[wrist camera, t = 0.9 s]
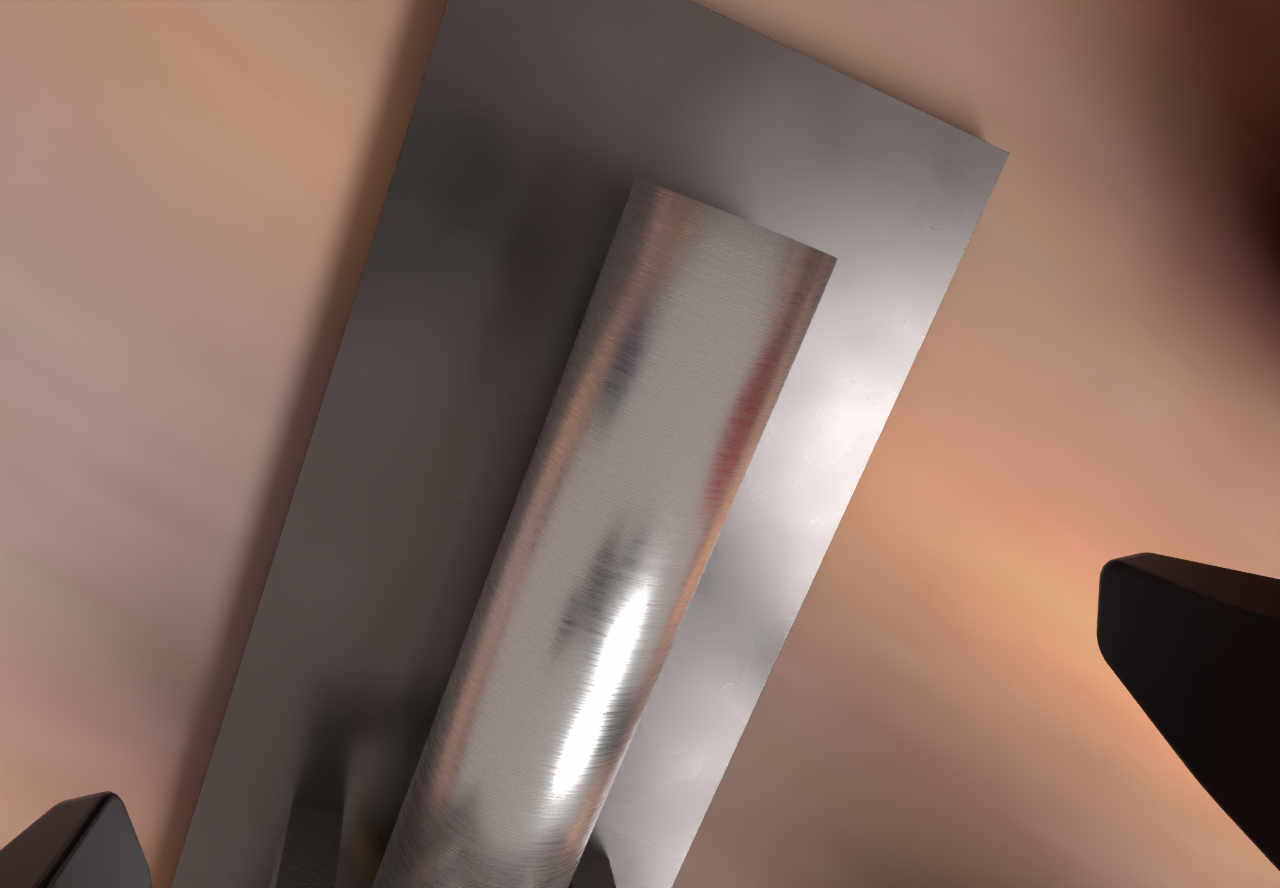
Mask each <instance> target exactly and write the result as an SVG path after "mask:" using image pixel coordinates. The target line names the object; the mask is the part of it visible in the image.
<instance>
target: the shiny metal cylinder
mask: <svg viewBox="0 0 1280 888" xmlns="http://www.w3.org/2000/svg"><path fill="white" fill-rule="evenodd" d="M837 260H838V259H837V258H836V257H833V256H831V255H829V254H827V253H825V252H822V251H820V250H818V249H816V248H813V247H811V246H808V245H806V244H804V243H801V242H799V241H797V240H794V239H792V238H789V237H787V236H784V235H782V234H780V233H777V232H775V231H772V230H770V229H767V228H765V227H762V226H760V225H758V224H755V223H753V222H750V221H748V220H745V219H743V218H740V217H738V216H735V215H733V214H730V213H728V212H725V211H722V210H720V209H717V208H715V207H712V206H710V205H707V204H705V203H702V202H699V201H697V200H694V199H692V198H689V197H687V196H684V195H681V194H679V193H676V192H673V191H671V190H668V189H666V188H663V187H660V186H657V185H655V184H652V183H649V182H646V181H643V180H640V179H637V178H636V179H635V182H634V184H633V187H632V190H631V192H630V195H629V198H628V200H627V203H626V206H625V208H624V211H623V214H622V216H621V219H620V222H619V225H618V227H617V230H616V233H615V235H614V238H613V241H612V243H611V246H610V249H609V251H608V254H607V257H606V259H605V262H604V265H603V268H602V270H601V273H600V276H599V278H598V281H597V284H596V286H595V289H594V292H593V294H592V297H591V300H590V302H589V305H588V308H587V311H586V313H585V316H584V319H583V321H582V324H581V327H580V329H579V332H578V335H577V337H576V340H575V343H574V345H573V348H572V351H571V354H570V356H569V359H568V362H567V364H566V367H565V370H564V372H563V375H562V378H561V380H560V383H559V386H558V388H557V391H556V394H555V397H554V399H553V402H552V405H551V407H550V410H549V413H548V415H547V418H546V421H545V423H544V426H543V429H542V431H541V434H540V437H539V440H538V442H537V445H536V448H535V450H534V453H533V456H532V458H531V461H530V464H529V466H528V469H527V472H526V474H525V477H524V480H523V483H522V485H521V488H520V491H519V493H518V496H517V499H516V501H515V504H514V507H513V509H512V512H511V515H510V517H509V520H508V523H507V526H506V528H505V531H504V534H503V536H502V539H501V542H500V544H499V547H498V550H497V552H496V555H495V558H494V560H493V563H492V566H491V569H490V571H489V574H488V577H487V579H486V582H485V585H484V587H483V590H482V593H481V595H480V598H479V601H478V603H477V606H476V609H475V612H474V614H473V617H472V620H471V622H470V625H469V628H468V630H467V633H466V636H465V638H464V641H463V644H462V646H461V649H460V652H459V655H458V657H457V660H456V663H455V665H454V668H453V671H452V673H451V676H450V679H449V681H448V684H447V687H446V689H445V692H444V695H443V698H442V700H441V703H440V706H439V708H438V711H437V714H436V716H435V719H434V722H433V724H432V727H431V730H430V733H429V735H428V738H427V741H426V743H425V746H424V749H423V751H422V754H421V757H420V759H419V762H418V765H417V767H416V770H415V773H414V776H413V778H412V781H411V784H410V786H409V789H408V792H407V794H406V797H405V800H404V802H403V805H402V808H401V810H400V813H399V816H398V819H397V821H396V824H395V827H394V829H393V832H392V835H391V837H390V840H389V843H388V845H387V848H386V851H385V853H384V856H383V859H382V862H381V864H380V867H379V870H378V872H377V875H376V878H375V880H374V883H373V886H372V888H568V886H569V884H570V881H571V879H572V877H573V875H574V872H575V870H576V868H577V865H578V863H579V861H580V858H581V856H582V854H583V851H584V849H585V847H586V844H587V842H588V840H589V837H590V835H591V833H592V830H593V828H594V826H595V823H596V821H597V819H598V816H599V814H600V812H601V809H602V807H603V805H604V802H605V800H606V798H607V795H608V793H609V791H610V788H611V786H612V784H613V781H614V779H615V777H616V775H617V772H618V770H619V768H620V765H621V763H622V761H623V758H624V756H625V754H626V751H627V749H628V747H629V744H630V742H631V740H632V737H633V735H634V733H635V730H636V728H637V726H638V723H639V721H640V719H641V716H642V714H643V712H644V709H645V707H646V705H647V702H648V700H649V698H650V695H651V693H652V691H653V688H654V686H655V684H656V681H657V679H658V677H659V674H660V672H661V670H662V668H663V665H664V663H665V661H666V658H667V656H668V654H669V651H670V649H671V647H672V644H673V642H674V640H675V637H676V635H677V633H678V630H679V628H680V626H681V623H682V621H683V619H684V616H685V614H686V612H687V609H688V607H689V605H690V602H691V600H692V598H693V595H694V593H695V591H696V588H697V586H698V584H699V581H700V579H701V577H702V574H703V572H704V570H705V567H706V565H707V563H708V561H709V558H710V556H711V554H712V551H713V549H714V547H715V544H716V542H717V540H718V537H719V535H720V533H721V530H722V528H723V526H724V523H725V521H726V519H727V516H728V514H729V512H730V509H731V507H732V505H733V502H734V500H735V498H736V495H737V493H738V491H739V488H740V486H741V484H742V481H743V479H744V477H745V474H746V472H747V470H748V467H749V465H750V463H751V460H752V458H753V456H754V454H755V451H756V449H757V447H758V444H759V442H760V440H761V437H762V435H763V433H764V430H765V428H766V426H767V423H768V421H769V419H770V416H771V414H772V412H773V409H774V407H775V405H776V402H777V400H778V398H779V395H780V393H781V391H782V388H783V386H784V384H785V381H786V379H787V377H788V374H789V372H790V370H791V367H792V365H793V363H794V360H795V358H796V356H797V353H798V351H799V349H800V347H801V344H802V342H803V340H804V337H805V335H806V333H807V330H808V328H809V326H810V323H811V321H812V319H813V316H814V314H815V312H816V309H817V307H818V305H819V302H820V300H821V298H822V295H823V293H824V291H825V288H826V286H827V284H828V281H829V279H830V277H831V274H832V272H833V270H834V267H835V265H836V263H837Z"/></svg>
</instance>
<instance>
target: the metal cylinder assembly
mask: <svg viewBox="0 0 1280 888" xmlns="http://www.w3.org/2000/svg"><path fill="white" fill-rule="evenodd" d="M1008 155H1009V153H1008V152H1006V151H1004V150H1002V149H1000V148H998V147H996V146H994V145H992V144H990V143H987V142H985V141H983V140H981V139H979V138H977V137H975V136H973V135H971V134H969V133H966V132H964V131H962V130H960V129H958V128H956V127H954V126H952V125H950V124H948V123H945V122H943V121H941V120H939V119H937V118H935V117H933V116H931V115H929V114H927V113H925V112H922V111H920V110H918V109H916V108H914V107H912V106H910V105H908V104H906V103H904V102H901V101H899V100H897V99H895V98H893V97H891V96H889V95H887V94H885V93H883V92H880V91H878V90H876V89H874V88H872V87H870V86H868V85H866V84H864V83H862V82H860V81H857V80H855V79H853V78H851V77H849V76H847V75H845V74H843V73H841V72H839V71H836V70H834V69H832V68H830V67H828V66H826V65H824V64H822V63H820V62H818V61H815V60H813V59H811V58H809V57H807V56H805V55H803V54H801V53H799V52H797V51H795V50H792V49H790V48H788V47H786V46H784V45H782V44H780V43H778V42H776V41H774V40H771V39H769V38H767V37H765V36H763V35H761V34H759V33H757V32H755V31H753V30H750V29H748V28H746V27H744V26H742V25H740V24H738V23H736V22H734V21H732V20H730V19H727V18H725V17H723V16H721V15H719V14H717V13H715V12H713V11H711V10H709V9H706V8H704V7H702V6H700V5H698V4H696V3H694V2H692V1H690V0H448V2H447V5H446V8H445V12H444V15H443V18H442V21H441V24H440V28H439V31H438V34H437V37H436V40H435V44H434V47H433V50H432V53H431V56H430V60H429V63H428V66H427V69H426V72H425V76H424V79H423V82H422V85H421V88H420V92H419V95H418V98H417V101H416V104H415V108H414V111H413V114H412V117H411V120H410V124H409V127H408V130H407V133H406V136H405V140H404V143H403V146H402V149H401V152H400V156H399V159H398V162H397V165H396V168H395V172H394V175H393V178H392V181H391V184H390V187H389V191H388V194H387V197H386V200H385V203H384V207H383V210H382V213H381V216H380V219H379V223H378V226H377V229H376V232H375V235H374V239H373V242H372V245H371V248H370V251H369V255H368V258H367V261H366V264H365V267H364V271H363V274H362V277H361V280H360V283H359V287H358V290H357V293H356V296H355V299H354V303H353V306H352V309H351V312H350V315H349V319H348V322H347V325H346V328H345V331H344V335H343V338H342V341H341V344H340V347H339V351H338V354H337V357H336V360H335V363H334V367H333V370H332V373H331V376H330V379H329V383H328V386H327V389H326V392H325V395H324V399H323V402H322V405H321V408H320V411H319V415H318V418H317V421H316V424H315V427H314V431H313V434H312V437H311V440H310V443H309V447H308V450H307V453H306V456H305V459H304V463H303V466H302V469H301V472H300V475H299V479H298V482H297V485H296V488H295V491H294V495H293V498H292V501H291V504H290V507H289V510H288V514H287V517H286V520H285V523H284V526H283V530H282V533H281V536H280V539H279V542H278V546H277V549H276V552H275V555H274V558H273V562H272V565H271V568H270V571H269V574H268V578H267V581H266V584H265V587H264V590H263V594H262V597H261V600H260V603H259V606H258V610H257V613H256V616H255V619H254V622H253V626H252V629H251V632H250V635H249V638H248V642H247V645H246V648H245V651H244V654H243V658H242V661H241V664H240V667H239V670H238V674H237V677H236V680H235V683H234V686H233V690H232V693H231V696H230V699H229V702H228V706H227V709H226V712H225V715H224V718H223V722H222V725H221V728H220V731H219V734H218V738H217V741H216V744H215V747H214V750H213V754H212V757H211V760H210V763H209V766H208V770H207V773H206V776H205V779H204V782H203V786H202V789H201V792H200V795H199V798H198V802H197V805H196V808H195V811H194V814H193V817H192V821H191V824H190V827H189V830H188V833H187V837H186V840H185V843H184V846H183V849H182V853H181V856H180V859H179V862H178V865H177V869H176V872H175V875H174V878H173V881H172V885H171V888H372V886H373V883H374V880H375V878H376V875H377V872H378V870H379V867H380V864H381V862H382V859H383V856H384V853H385V851H386V848H387V845H388V843H389V840H390V837H391V835H392V832H393V829H394V827H395V824H396V821H397V819H398V816H399V813H400V810H401V808H402V805H403V802H404V800H405V797H406V794H407V792H408V789H409V786H410V784H411V781H412V778H413V776H414V773H415V770H416V767H417V765H418V762H419V759H420V757H421V754H422V751H423V749H424V746H425V743H426V741H427V738H428V735H429V733H430V730H431V727H432V724H433V722H434V719H435V716H436V714H437V711H438V708H439V706H440V703H441V700H442V698H443V695H444V692H445V689H446V687H447V684H448V681H449V679H450V676H451V673H452V671H453V668H454V665H455V663H456V660H457V657H458V655H459V652H460V649H461V646H462V644H463V641H464V638H465V636H466V633H467V630H468V628H469V625H470V622H471V620H472V617H473V614H474V612H475V609H476V606H477V603H478V601H479V598H480V595H481V593H482V590H483V587H484V585H485V582H486V579H487V577H488V574H489V571H490V569H491V566H492V563H493V560H494V558H495V555H496V552H497V550H498V547H499V544H500V542H501V539H502V536H503V534H504V531H505V528H506V526H507V523H508V520H509V517H510V515H511V512H512V509H513V507H514V504H515V501H516V499H517V496H518V493H519V491H520V488H521V485H522V483H523V480H524V477H525V474H526V472H527V469H528V466H529V464H530V461H531V458H532V456H533V453H534V450H535V448H536V445H537V442H538V440H539V437H540V434H541V431H542V429H543V426H544V423H545V421H546V418H547V415H548V413H549V410H550V407H551V405H552V402H553V399H554V397H555V394H556V391H557V388H558V386H559V383H560V380H561V378H562V375H563V372H564V370H565V367H566V364H567V362H568V359H569V356H570V354H571V351H572V348H573V345H574V343H575V340H576V337H577V335H578V332H579V329H580V327H581V324H582V321H583V319H584V316H585V313H586V311H587V308H588V305H589V302H590V300H591V297H592V294H593V292H594V289H595V286H596V284H597V281H598V278H599V276H600V273H601V270H602V268H603V265H604V262H605V259H606V257H607V254H608V251H609V249H610V246H611V243H612V241H613V238H614V235H615V233H616V230H617V227H618V225H619V222H620V219H621V216H622V214H623V211H624V208H625V206H626V203H627V200H628V198H629V195H630V192H631V190H632V187H633V184H634V182H635V179H636V178H637V179H640V180H643V181H646V182H649V183H652V184H655V185H657V186H660V187H663V188H666V189H668V190H671V191H673V192H676V193H679V194H681V195H684V196H687V197H689V198H692V199H694V200H697V201H699V202H702V203H705V204H707V205H710V206H712V207H715V208H717V209H720V210H722V211H725V212H728V213H730V214H733V215H735V216H738V217H740V218H743V219H745V220H748V221H750V222H753V223H755V224H758V225H760V226H762V227H765V228H767V229H770V230H772V231H775V232H777V233H780V234H782V235H784V236H787V237H789V238H792V239H794V240H797V241H799V242H801V243H804V244H806V245H808V246H811V247H813V248H816V249H818V250H820V251H822V252H825V253H827V254H829V255H831V256H833V257H836V258H837V259H838V260H837V263H836V265H835V267H834V270H833V272H832V274H831V277H830V279H829V281H828V284H827V286H826V288H825V291H824V293H823V295H822V298H821V300H820V302H819V305H818V307H817V309H816V312H815V314H814V316H813V319H812V321H811V323H810V326H809V328H808V330H807V333H806V335H805V337H804V340H803V342H802V344H801V347H800V349H799V351H798V353H797V356H796V358H795V360H794V363H793V365H792V367H791V370H790V372H789V374H788V377H787V379H786V381H785V384H784V386H783V388H782V391H781V393H780V395H779V398H778V400H777V402H776V405H775V407H774V409H773V412H772V414H771V416H770V419H769V421H768V423H767V426H766V428H765V430H764V433H763V435H762V437H761V440H760V442H759V444H758V447H757V449H756V451H755V454H754V456H753V458H752V460H751V463H750V465H749V467H748V470H747V472H746V474H745V477H744V479H743V481H742V484H741V486H740V488H739V491H738V493H737V495H736V498H735V500H734V502H733V505H732V507H731V509H730V512H729V514H728V516H727V519H726V521H725V523H724V526H723V528H722V530H721V533H720V535H719V537H718V540H717V542H716V544H715V547H714V549H713V551H712V554H711V556H710V558H709V561H708V563H707V565H706V567H705V570H704V572H703V574H702V577H701V579H700V581H699V584H698V586H697V588H696V591H695V593H694V595H693V598H692V600H691V602H690V605H689V607H688V609H687V612H686V614H685V616H684V619H683V621H682V623H681V626H680V628H679V630H678V633H677V635H676V637H675V640H674V642H673V644H672V647H671V649H670V651H669V654H668V656H667V658H666V661H665V663H664V665H663V668H662V670H661V672H660V674H659V677H658V679H657V681H656V684H655V686H654V688H653V691H652V693H651V695H650V698H649V700H648V702H647V705H646V707H645V709H644V712H643V714H642V716H641V719H640V721H639V723H638V726H637V728H636V730H635V733H634V735H633V737H632V740H631V742H630V744H629V747H628V749H627V751H626V754H625V756H624V758H623V761H622V763H621V765H620V768H619V770H618V772H617V775H616V777H615V779H614V781H613V784H612V786H611V788H610V791H609V793H608V795H607V798H606V800H605V802H604V805H603V807H602V809H601V812H600V814H599V816H598V819H597V821H596V823H595V826H594V828H593V830H592V833H591V835H590V837H589V840H588V842H587V844H586V847H585V849H584V851H583V854H582V856H581V858H580V861H579V863H578V865H577V868H576V870H575V872H574V875H573V877H572V879H571V881H570V884H569V886H568V888H671V887H672V885H673V883H674V881H675V878H676V876H677V874H678V872H679V870H680V868H681V865H682V863H683V861H684V859H685V857H686V855H687V852H688V850H689V848H690V846H691V844H692V842H693V839H694V837H695V835H696V833H697V831H698V829H699V826H700V824H701V822H702V820H703V818H704V815H705V813H706V811H707V809H708V807H709V805H710V802H711V800H712V798H713V796H714V794H715V792H716V789H717V787H718V785H719V783H720V781H721V779H722V776H723V774H724V772H725V770H726V768H727V766H728V763H729V761H730V759H731V757H732V755H733V753H734V750H735V748H736V746H737V744H738V742H739V739H740V737H741V735H742V733H743V731H744V729H745V726H746V724H747V722H748V720H749V718H750V716H751V713H752V711H753V709H754V707H755V705H756V703H757V700H758V698H759V696H760V694H761V692H762V690H763V687H764V685H765V683H766V681H767V679H768V676H769V674H770V672H771V670H772V668H773V666H774V663H775V661H776V659H777V657H778V655H779V653H780V650H781V648H782V646H783V644H784V642H785V640H786V637H787V635H788V633H789V631H790V629H791V627H792V624H793V622H794V620H795V618H796V616H797V614H798V611H799V609H800V607H801V605H802V603H803V600H804V598H805V596H806V594H807V592H808V590H809V587H810V585H811V583H812V581H813V579H814V577H815V574H816V572H817V570H818V568H819V566H820V564H821V561H822V559H823V557H824V555H825V553H826V551H827V548H828V546H829V544H830V542H831V540H832V538H833V535H834V533H835V531H836V529H837V527H838V524H839V522H840V520H841V518H842V516H843V514H844V511H845V509H846V507H847V505H848V503H849V501H850V498H851V496H852V494H853V492H854V490H855V488H856V485H857V483H858V481H859V479H860V477H861V475H862V472H863V470H864V468H865V466H866V464H867V461H868V459H869V457H870V455H871V453H872V451H873V448H874V446H875V444H876V442H877V440H878V438H879V435H880V433H881V431H882V429H883V427H884V425H885V422H886V420H887V418H888V416H889V414H890V412H891V409H892V407H893V405H894V403H895V401H896V399H897V396H898V394H899V392H900V390H901V388H902V385H903V383H904V381H905V379H906V377H907V375H908V372H909V370H910V368H911V366H912V364H913V362H914V359H915V357H916V355H917V353H918V351H919V349H920V346H921V344H922V342H923V340H924V338H925V336H926V333H927V331H928V329H929V327H930V325H931V322H932V320H933V318H934V316H935V314H936V312H937V309H938V307H939V305H940V303H941V301H942V299H943V296H944V294H945V292H946V290H947V288H948V286H949V283H950V281H951V279H952V277H953V275H954V273H955V270H956V268H957V266H958V264H959V262H960V260H961V257H962V255H963V253H964V251H965V249H966V246H967V244H968V242H969V240H970V238H971V236H972V233H973V231H974V229H975V227H976V225H977V223H978V220H979V218H980V216H981V214H982V212H983V210H984V207H985V205H986V203H987V201H988V199H989V197H990V194H991V192H992V190H993V188H994V186H995V183H996V181H997V179H998V177H999V175H1000V173H1001V170H1002V168H1003V166H1004V164H1005V162H1006V160H1007V157H1008Z"/></svg>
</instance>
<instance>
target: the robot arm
mask: <svg viewBox="0 0 1280 888" xmlns="http://www.w3.org/2000/svg"><path fill="white" fill-rule="evenodd" d="M1097 640H1098V645H1099V648H1100V651H1101V653H1102V655H1103V657H1104V659H1105V661H1106V662H1107V664H1108V665H1109V666H1110V668H1111V669H1112V670H1113V671H1114V673H1115V674H1116V675H1117V677H1118V678H1119V679H1120V681H1121V682H1122V683H1123V685H1124V686H1125V687H1126V688H1127V690H1128V691H1129V692H1130V694H1131V695H1132V696H1133V698H1134V699H1135V700H1136V702H1137V703H1138V704H1139V705H1140V707H1141V708H1142V709H1143V711H1144V712H1145V713H1146V715H1147V716H1148V717H1149V719H1150V720H1151V721H1152V722H1153V724H1154V725H1155V726H1156V728H1157V729H1158V730H1159V732H1160V733H1161V734H1162V736H1163V737H1164V738H1165V739H1166V741H1167V742H1168V743H1169V745H1170V746H1171V747H1172V749H1173V750H1174V751H1175V753H1176V754H1177V755H1178V756H1179V758H1180V759H1181V760H1182V762H1183V763H1184V764H1185V766H1186V767H1187V768H1188V769H1189V771H1190V772H1191V773H1192V774H1193V776H1194V777H1195V778H1196V779H1197V780H1198V782H1199V783H1200V784H1201V785H1202V787H1203V788H1204V789H1205V790H1206V791H1207V792H1208V794H1209V795H1210V796H1211V797H1212V798H1213V799H1214V800H1215V801H1216V803H1217V804H1218V805H1219V806H1220V807H1221V808H1222V809H1223V810H1224V812H1225V813H1226V814H1227V815H1228V816H1229V817H1230V818H1231V819H1232V820H1233V821H1234V822H1235V823H1236V825H1237V826H1238V827H1239V828H1240V829H1241V830H1242V831H1243V832H1244V833H1245V834H1246V835H1247V836H1248V838H1249V839H1250V840H1251V841H1252V842H1253V843H1254V844H1255V845H1256V846H1257V847H1258V848H1259V849H1260V851H1261V852H1262V853H1263V854H1264V855H1265V856H1266V857H1267V858H1268V859H1269V860H1270V861H1271V862H1272V863H1273V865H1274V866H1275V867H1276V868H1277V869H1278V870H1279V871H1280V579H1275V578H1270V577H1266V576H1261V575H1256V574H1251V573H1246V572H1241V571H1237V570H1232V569H1227V568H1222V567H1217V566H1212V565H1208V564H1203V563H1198V562H1193V561H1188V560H1184V559H1179V558H1174V557H1169V556H1164V555H1159V554H1155V553H1148V552H1147V553H1138V554H1134V555H1130V556H1125V557H1121V558H1117V559H1113V560H1110V561H1108V562H1107V563H1106V564H1105V565H1104V566H1103V568H1102V571H1101V573H1100V582H1099V599H1098V617H1097ZM0 888H152V885H151V876H150V871H149V867H148V864H147V862H146V859H145V856H144V854H143V851H142V849H141V846H140V844H139V841H138V838H137V836H136V833H135V831H134V828H133V826H132V823H131V820H130V818H129V815H128V813H127V810H126V808H125V805H124V803H123V802H122V800H121V799H120V798H119V796H118V795H116V794H114V793H112V792H109V791H106V792H101V793H96V794H92V795H88V796H83V797H79V798H74V799H70V800H66V801H63V802H60V803H58V804H57V805H55V806H54V807H52V808H51V809H50V810H49V811H48V812H46V813H45V814H44V815H43V816H41V817H40V818H39V819H38V820H37V821H35V822H34V823H33V824H32V825H30V826H29V827H28V828H27V829H26V830H24V831H23V832H22V833H21V834H20V835H18V836H17V837H16V838H15V839H13V840H12V841H11V842H10V843H9V844H7V845H6V846H5V847H4V848H2V849H1V850H0Z"/></svg>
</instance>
